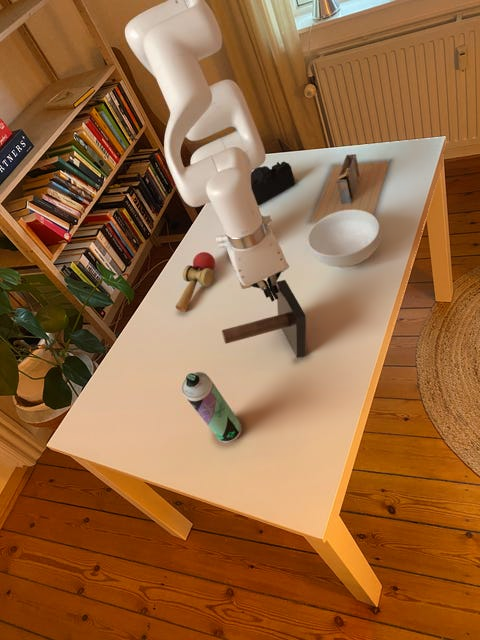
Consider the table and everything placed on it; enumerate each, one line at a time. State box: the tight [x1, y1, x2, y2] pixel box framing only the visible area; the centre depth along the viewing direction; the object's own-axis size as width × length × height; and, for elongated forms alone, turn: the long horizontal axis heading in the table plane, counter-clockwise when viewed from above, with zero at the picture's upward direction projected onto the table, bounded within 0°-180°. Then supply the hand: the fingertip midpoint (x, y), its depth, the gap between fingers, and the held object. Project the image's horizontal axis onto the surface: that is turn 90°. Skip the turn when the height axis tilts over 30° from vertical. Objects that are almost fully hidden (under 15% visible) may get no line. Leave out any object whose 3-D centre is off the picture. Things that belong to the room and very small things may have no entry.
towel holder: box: [221, 279, 307, 359], centre depth 102 cm, size 18×12×12 cm
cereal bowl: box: [307, 210, 381, 268], centre depth 118 cm, size 17×17×7 cm
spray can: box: [181, 371, 243, 444], centre depth 92 cm, size 6×6×20 cm
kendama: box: [175, 251, 216, 313], centre depth 129 cm, size 8×6×18 cm
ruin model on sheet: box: [311, 153, 391, 222], centre depth 132 cm, size 25×16×10 cm, turn 159°
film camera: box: [251, 161, 296, 206], centre depth 145 cm, size 15×10×9 cm, turn 114°
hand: (273, 296), depth 105 cm, fingers closed
